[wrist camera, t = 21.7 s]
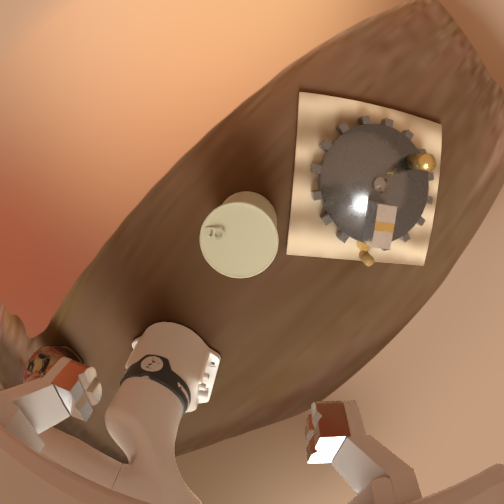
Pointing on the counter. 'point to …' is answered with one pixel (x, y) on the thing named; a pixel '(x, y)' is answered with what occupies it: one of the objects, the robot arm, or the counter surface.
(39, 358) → the ceramic jug
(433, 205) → the plate
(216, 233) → the can
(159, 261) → the counter surface
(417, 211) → the sprocket
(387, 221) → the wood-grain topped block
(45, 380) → the robot arm
